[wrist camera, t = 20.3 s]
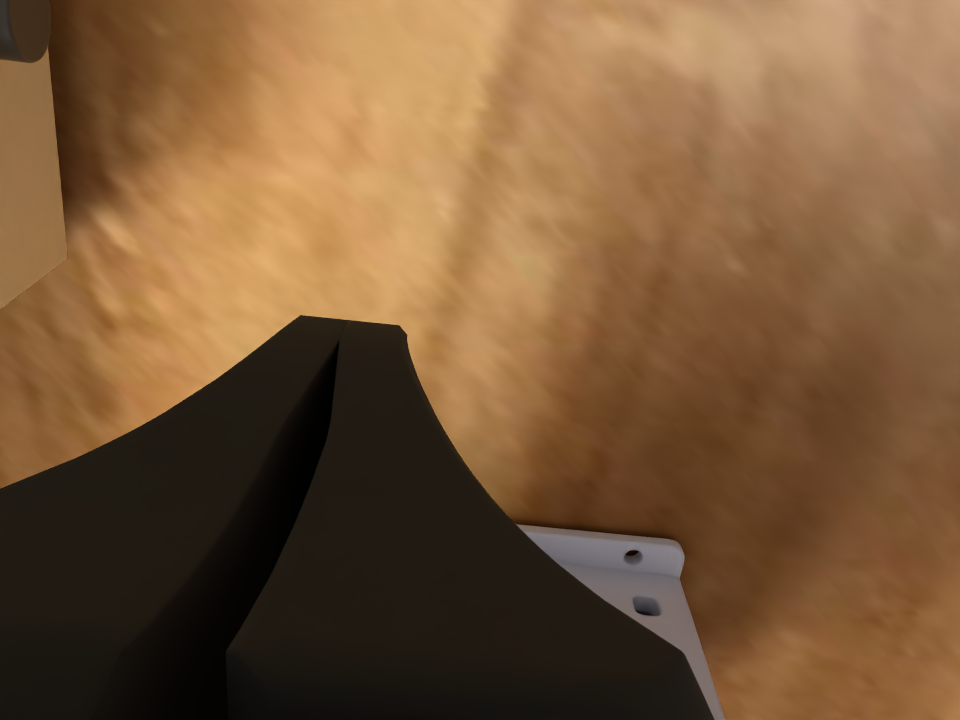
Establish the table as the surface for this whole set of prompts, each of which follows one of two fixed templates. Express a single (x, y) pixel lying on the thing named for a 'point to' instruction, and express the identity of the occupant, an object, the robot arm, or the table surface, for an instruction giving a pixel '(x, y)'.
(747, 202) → the table surface
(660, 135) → the table surface
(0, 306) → the drawer
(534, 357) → the table surface
